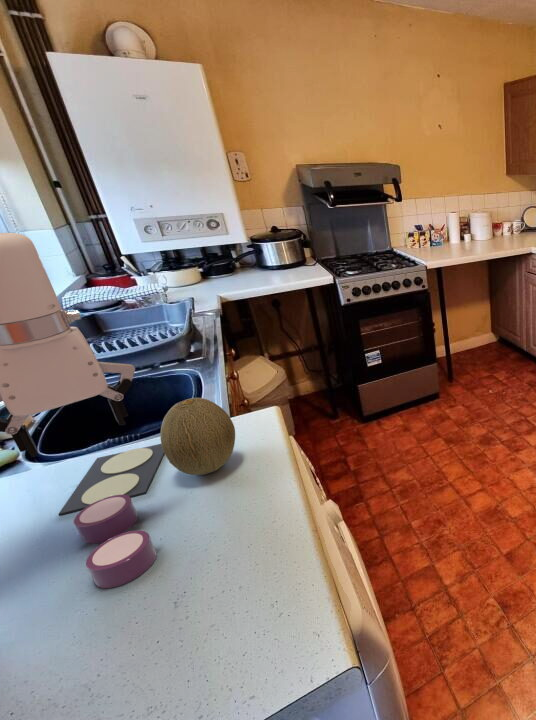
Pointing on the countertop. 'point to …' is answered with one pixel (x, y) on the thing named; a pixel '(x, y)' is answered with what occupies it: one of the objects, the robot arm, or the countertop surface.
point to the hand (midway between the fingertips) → (79, 436)
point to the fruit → (197, 436)
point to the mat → (116, 477)
